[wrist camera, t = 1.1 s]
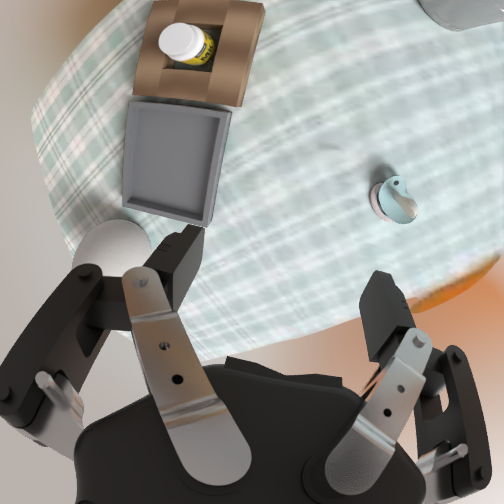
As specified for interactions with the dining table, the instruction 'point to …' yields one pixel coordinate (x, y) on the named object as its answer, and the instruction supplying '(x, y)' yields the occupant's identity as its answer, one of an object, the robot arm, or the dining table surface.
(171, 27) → the supplement bottle
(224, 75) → the walnut holder
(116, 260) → the decorative egg
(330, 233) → the dining table surface
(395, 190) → the pacifier
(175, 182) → the charcoal tray
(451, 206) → the dining table surface
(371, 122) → the dining table surface
